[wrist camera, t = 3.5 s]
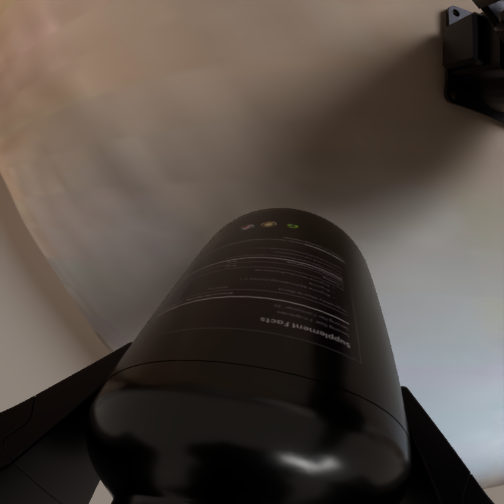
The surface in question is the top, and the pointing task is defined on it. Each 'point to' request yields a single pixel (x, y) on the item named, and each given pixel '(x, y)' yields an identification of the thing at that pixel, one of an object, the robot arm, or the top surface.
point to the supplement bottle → (259, 379)
